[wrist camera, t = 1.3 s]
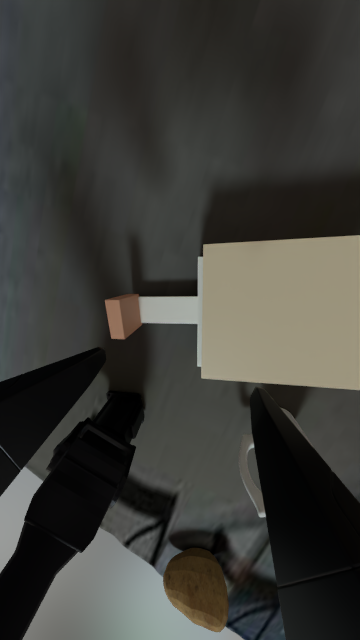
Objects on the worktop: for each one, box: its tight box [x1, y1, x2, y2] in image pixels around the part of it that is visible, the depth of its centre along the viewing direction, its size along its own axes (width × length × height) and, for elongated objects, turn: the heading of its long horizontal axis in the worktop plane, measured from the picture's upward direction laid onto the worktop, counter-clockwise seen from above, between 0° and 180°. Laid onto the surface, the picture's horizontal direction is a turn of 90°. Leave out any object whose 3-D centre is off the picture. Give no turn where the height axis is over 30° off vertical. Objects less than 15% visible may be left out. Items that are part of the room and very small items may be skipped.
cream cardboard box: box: [201, 235, 360, 390], centre depth 17 cm, size 16×14×6 cm
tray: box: [105, 257, 203, 367], centre depth 17 cm, size 25×12×6 cm, turn 92°
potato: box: [163, 548, 229, 632], centre depth 36 cm, size 9×16×9 cm, turn 105°
